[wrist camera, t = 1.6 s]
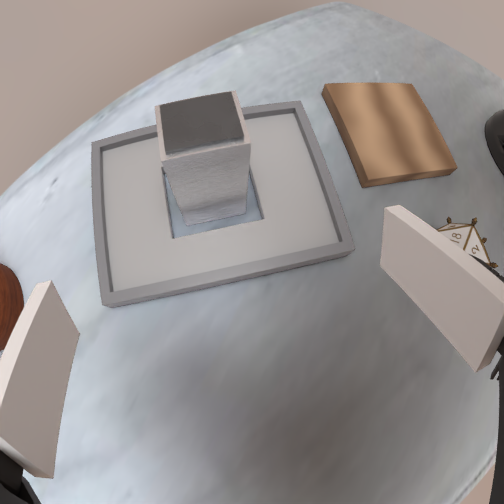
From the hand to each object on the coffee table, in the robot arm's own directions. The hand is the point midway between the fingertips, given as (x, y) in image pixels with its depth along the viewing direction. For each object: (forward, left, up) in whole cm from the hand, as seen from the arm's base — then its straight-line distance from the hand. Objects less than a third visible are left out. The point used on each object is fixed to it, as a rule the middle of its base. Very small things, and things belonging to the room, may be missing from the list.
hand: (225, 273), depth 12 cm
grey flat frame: (+8, -9, -19) cm, 22 cm away
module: (+8, -9, -19) cm, 22 cm away
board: (-5, -29, -19) cm, 35 cm away
